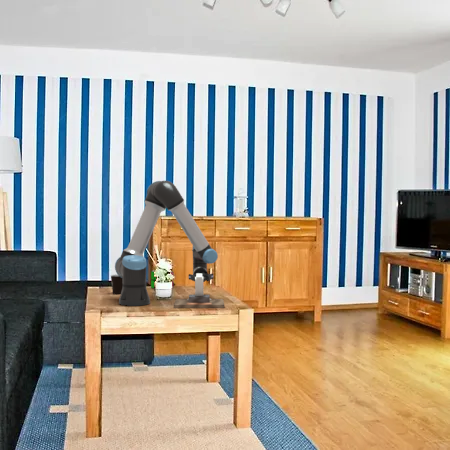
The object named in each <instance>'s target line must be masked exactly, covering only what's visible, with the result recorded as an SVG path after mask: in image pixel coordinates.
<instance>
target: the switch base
mask: <svg viewBox="0 0 450 450" xmlns="http://www.w3.org/2000/svg"><path fill="white" fill-rule="evenodd" d="M173 309H225V302H224V299H223V298H218V299H217V298H215V299H214V298H210V294H203V296H195V294H189V295H188V298H175V299H174V304H173Z"/></svg>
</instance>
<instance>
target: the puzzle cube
mask: <svg viewBox="0 0 450 450" xmlns="http://www.w3.org/2000/svg"><path fill="white" fill-rule="evenodd" d="M154 271H155V270H151V272H150V273H151V274H150V277H151V278H150V279H151V281H150V288H151V289H154V282H155V280H156V277H154ZM170 271H171V270H170ZM171 274H172V275H173V276H174V271H171ZM172 286H173V287H174V280H173V281H172Z"/></svg>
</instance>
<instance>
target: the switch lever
mask: <svg viewBox="0 0 450 450" xmlns="http://www.w3.org/2000/svg"><path fill="white" fill-rule="evenodd" d="M194 290H195V291H194V295H195V296H203V295H204V282H203V277H202V273H196V277H195V281H194Z"/></svg>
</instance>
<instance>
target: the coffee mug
mask: <svg viewBox="0 0 450 450" xmlns="http://www.w3.org/2000/svg"><path fill="white" fill-rule="evenodd" d="M110 281H111V289H112V294H113V295H121V292H122V288H123V278H121V277H120V276H119V275H118V274H111V275H110Z"/></svg>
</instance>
